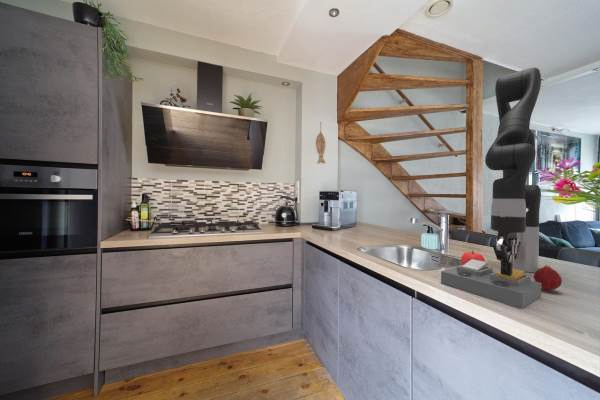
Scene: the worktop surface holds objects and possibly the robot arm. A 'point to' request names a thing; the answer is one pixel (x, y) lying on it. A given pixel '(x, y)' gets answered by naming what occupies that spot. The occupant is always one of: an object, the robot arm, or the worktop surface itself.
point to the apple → (471, 257)
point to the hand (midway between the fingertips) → (506, 274)
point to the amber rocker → (515, 274)
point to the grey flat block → (493, 285)
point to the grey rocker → (475, 265)
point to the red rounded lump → (548, 278)
